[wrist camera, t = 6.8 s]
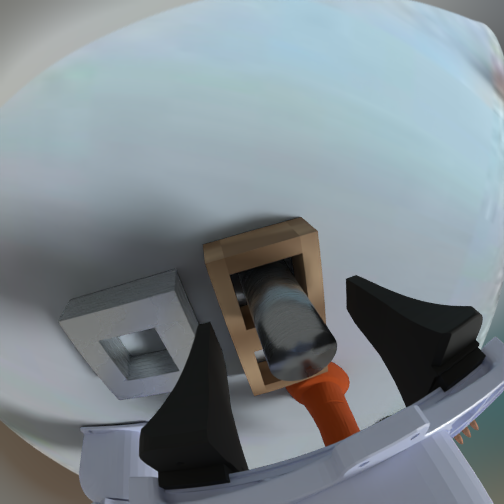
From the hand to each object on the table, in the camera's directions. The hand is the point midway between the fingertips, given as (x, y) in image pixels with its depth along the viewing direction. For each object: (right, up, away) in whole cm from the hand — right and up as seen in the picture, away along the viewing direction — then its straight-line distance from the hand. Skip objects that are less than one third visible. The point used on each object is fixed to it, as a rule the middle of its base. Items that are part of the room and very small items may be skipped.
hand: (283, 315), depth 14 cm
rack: (0, -1, +5) cm, 5 cm away
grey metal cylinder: (-1, +2, +4) cm, 4 cm away
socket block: (-9, -2, +4) cm, 10 cm away
